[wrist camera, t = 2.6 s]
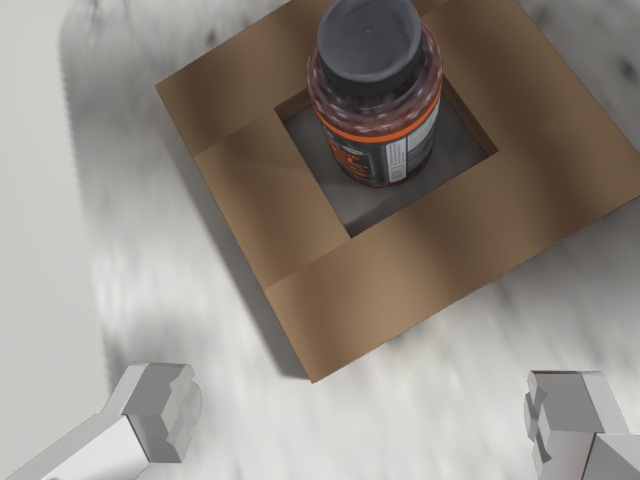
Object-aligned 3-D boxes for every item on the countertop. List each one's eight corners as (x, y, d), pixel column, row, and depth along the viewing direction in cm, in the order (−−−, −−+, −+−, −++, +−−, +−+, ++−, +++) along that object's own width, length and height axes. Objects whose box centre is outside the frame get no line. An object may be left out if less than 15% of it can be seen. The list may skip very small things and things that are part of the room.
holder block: (438, -67, 32) (440, -94, 30) (643, 193, 27) (661, 181, 25) (169, 100, 33) (154, 85, 31) (318, 381, 28) (311, 384, 26)
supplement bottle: (312, 145, 31) (257, 37, 20) (382, 76, 31) (367, -69, 20) (382, 212, 29) (365, 135, 18) (456, 139, 29) (483, 19, 18)
